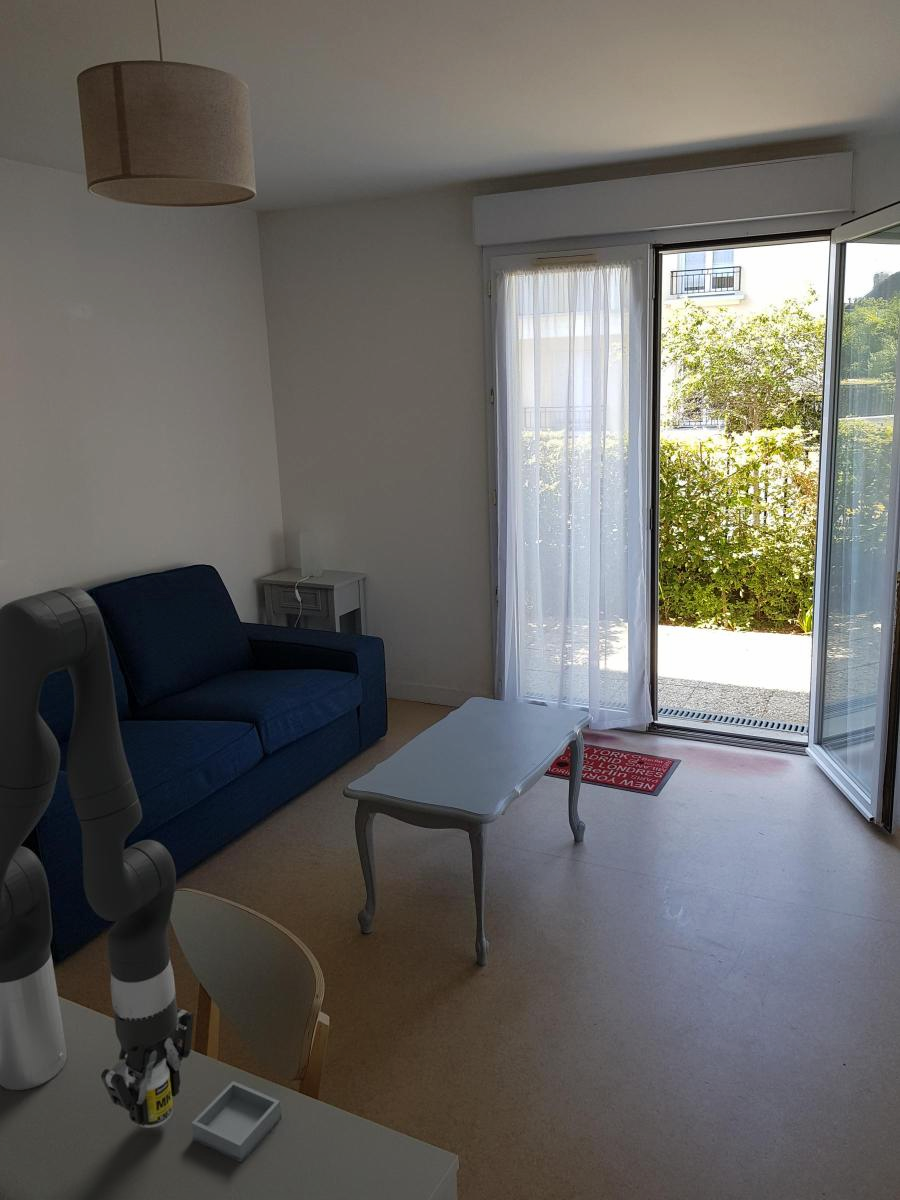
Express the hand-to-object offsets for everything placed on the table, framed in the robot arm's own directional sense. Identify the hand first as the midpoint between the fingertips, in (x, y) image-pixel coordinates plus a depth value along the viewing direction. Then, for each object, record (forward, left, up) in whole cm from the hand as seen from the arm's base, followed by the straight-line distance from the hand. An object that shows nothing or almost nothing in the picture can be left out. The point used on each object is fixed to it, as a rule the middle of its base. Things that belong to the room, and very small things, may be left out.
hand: (156, 1106), depth 121 cm
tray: (+10, +4, -3) cm, 11 cm away
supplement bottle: (-1, 0, -2) cm, 2 cm away
